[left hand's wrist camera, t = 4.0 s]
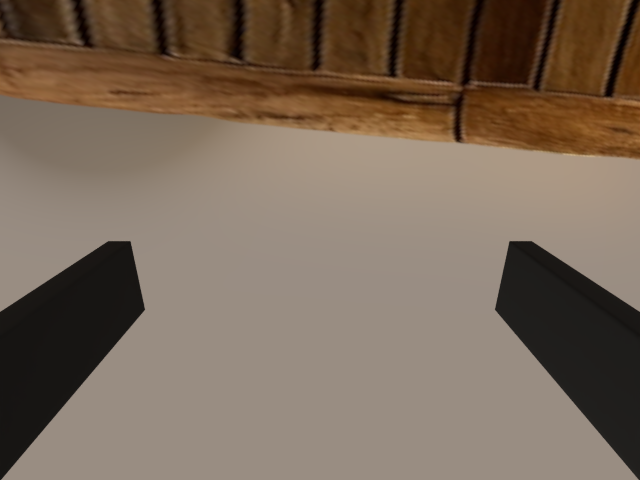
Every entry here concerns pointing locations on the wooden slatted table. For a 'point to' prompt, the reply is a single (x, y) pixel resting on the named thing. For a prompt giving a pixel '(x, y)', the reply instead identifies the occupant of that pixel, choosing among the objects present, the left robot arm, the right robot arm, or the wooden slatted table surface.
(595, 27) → the wooden slatted table surface
